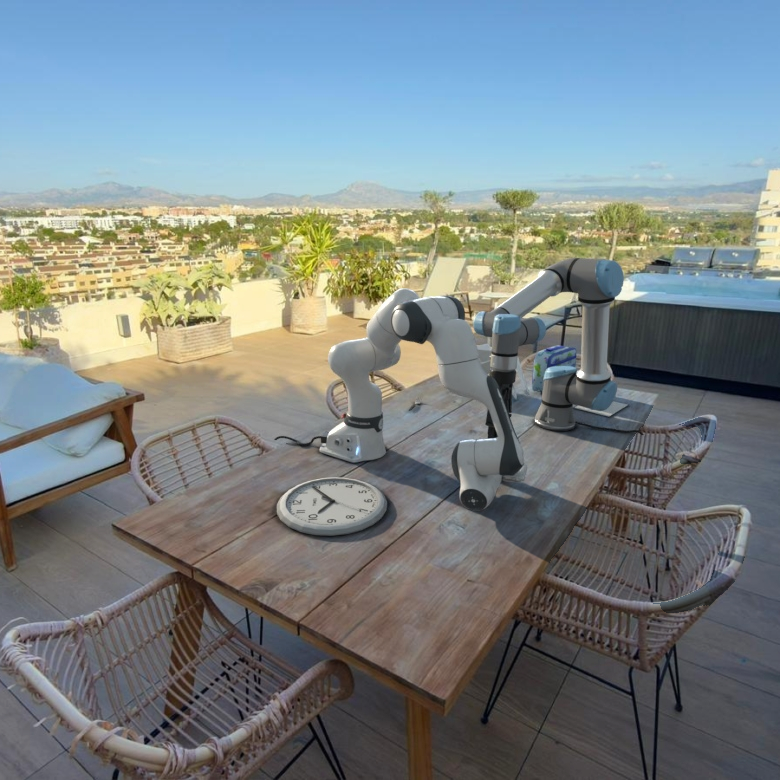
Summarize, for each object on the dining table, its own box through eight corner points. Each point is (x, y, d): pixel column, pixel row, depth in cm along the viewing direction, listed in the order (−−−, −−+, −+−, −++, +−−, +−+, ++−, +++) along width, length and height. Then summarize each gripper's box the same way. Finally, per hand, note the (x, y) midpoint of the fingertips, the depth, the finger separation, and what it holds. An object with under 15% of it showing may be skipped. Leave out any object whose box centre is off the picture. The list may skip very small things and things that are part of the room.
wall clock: (392, 527, 129) (268, 531, 127) (391, 533, 130) (269, 537, 127) (383, 473, 158) (282, 475, 155) (383, 478, 158) (282, 480, 156)
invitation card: (608, 416, 214) (573, 407, 224) (608, 416, 214) (573, 408, 224) (628, 404, 229) (594, 396, 238) (628, 405, 229) (594, 397, 238)
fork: (405, 411, 216) (405, 406, 215) (417, 400, 230) (417, 395, 230) (411, 412, 215) (411, 407, 214) (422, 400, 229) (422, 396, 229)
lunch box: (548, 398, 236) (553, 353, 229) (527, 393, 243) (531, 349, 237) (575, 387, 253) (581, 344, 247) (555, 382, 260) (560, 341, 254)
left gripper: (524, 471, 143) (531, 452, 156) (452, 458, 151) (464, 441, 163) (522, 492, 145) (529, 472, 157) (451, 478, 152) (463, 460, 165)
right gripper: (503, 359, 161) (497, 428, 168) (477, 374, 144) (471, 450, 151) (527, 363, 158) (520, 433, 164) (503, 378, 141) (496, 456, 147)
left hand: (496, 456), depth 160 cm, fingers closed on jar, 5 cm apart
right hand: (496, 441), depth 158 cm, fingers open, 8 cm apart
